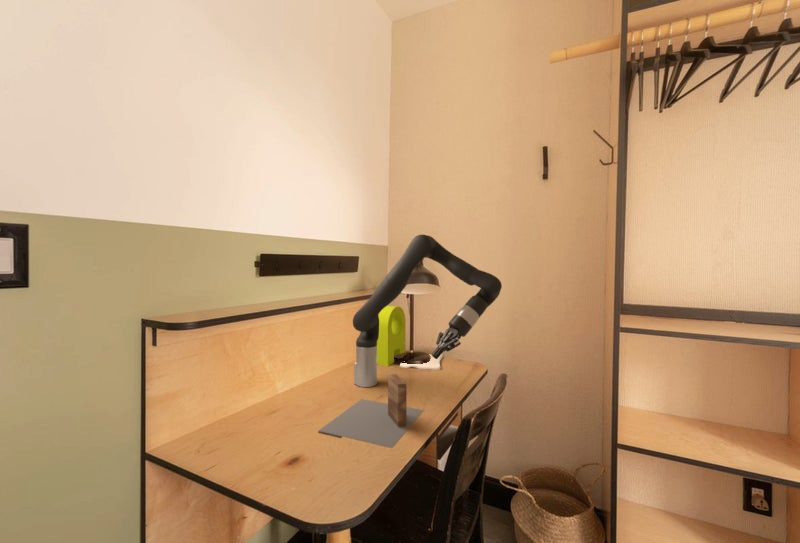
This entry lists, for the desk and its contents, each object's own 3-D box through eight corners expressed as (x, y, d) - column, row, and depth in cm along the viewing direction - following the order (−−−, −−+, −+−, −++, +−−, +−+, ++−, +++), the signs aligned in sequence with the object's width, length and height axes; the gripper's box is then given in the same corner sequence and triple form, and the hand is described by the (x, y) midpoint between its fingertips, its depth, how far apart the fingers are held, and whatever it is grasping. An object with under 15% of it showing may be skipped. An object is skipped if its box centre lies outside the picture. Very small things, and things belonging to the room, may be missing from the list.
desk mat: (318, 432, 112) (318, 430, 111) (361, 400, 137) (361, 398, 137) (392, 449, 101) (392, 447, 101) (424, 411, 127) (424, 410, 127)
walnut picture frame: (397, 427, 114) (398, 384, 114) (388, 414, 123) (388, 375, 123) (407, 425, 115) (407, 383, 115) (396, 413, 125) (396, 374, 124)
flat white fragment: (439, 374, 175) (444, 358, 200) (440, 367, 175) (445, 352, 199) (398, 369, 180) (408, 354, 204) (399, 362, 180) (408, 348, 204)
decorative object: (387, 366, 182) (387, 308, 181) (376, 364, 185) (376, 308, 184) (405, 356, 200) (405, 304, 199) (395, 355, 203) (395, 303, 202)
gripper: (448, 311, 133) (419, 346, 129) (467, 316, 120) (435, 355, 116) (460, 324, 135) (432, 359, 131) (480, 330, 123) (449, 369, 118)
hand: (433, 357), depth 124 cm, fingers closed
